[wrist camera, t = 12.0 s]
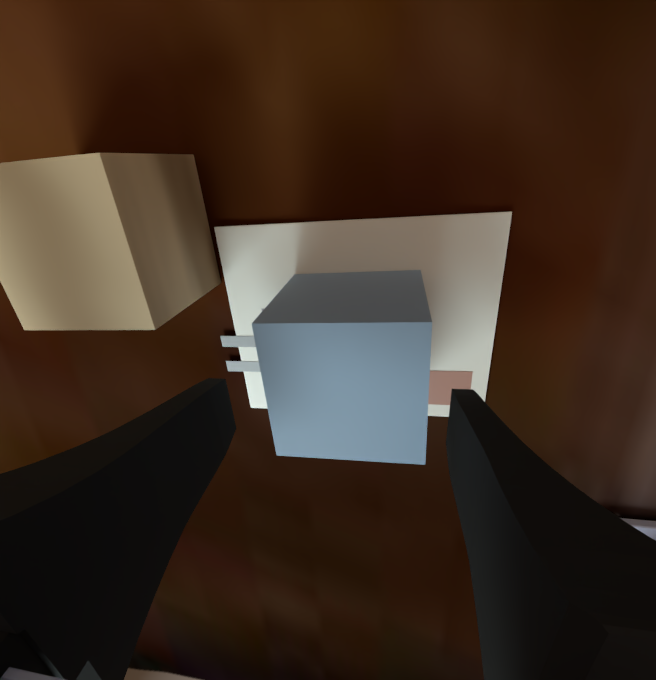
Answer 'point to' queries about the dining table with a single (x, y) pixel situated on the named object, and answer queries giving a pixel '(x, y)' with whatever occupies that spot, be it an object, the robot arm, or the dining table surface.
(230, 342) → the letter
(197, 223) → the oak block
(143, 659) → the dining table surface
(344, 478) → the dining table surface
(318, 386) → the slate cube
